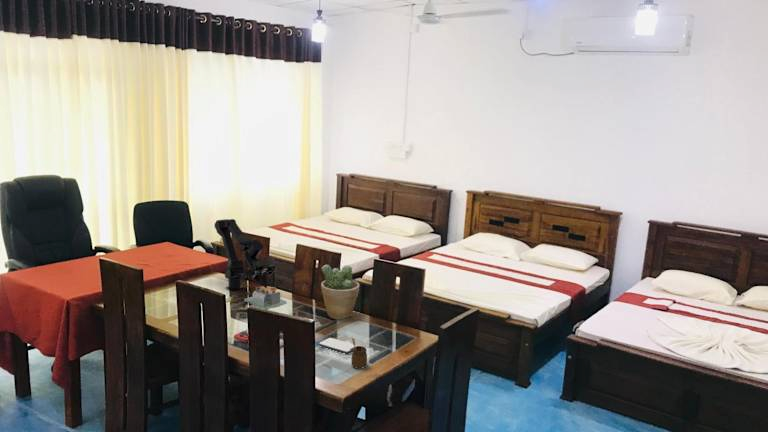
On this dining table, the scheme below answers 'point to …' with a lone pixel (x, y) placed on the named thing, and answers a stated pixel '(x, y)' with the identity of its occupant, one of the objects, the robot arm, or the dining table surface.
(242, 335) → the gaming console
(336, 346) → the phone case
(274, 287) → the orange brown bar
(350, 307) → the potted plant
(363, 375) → the dining table surface
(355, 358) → the utensil holder
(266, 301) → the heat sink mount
